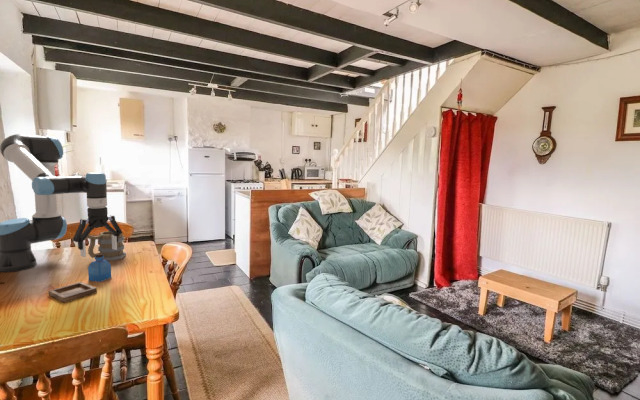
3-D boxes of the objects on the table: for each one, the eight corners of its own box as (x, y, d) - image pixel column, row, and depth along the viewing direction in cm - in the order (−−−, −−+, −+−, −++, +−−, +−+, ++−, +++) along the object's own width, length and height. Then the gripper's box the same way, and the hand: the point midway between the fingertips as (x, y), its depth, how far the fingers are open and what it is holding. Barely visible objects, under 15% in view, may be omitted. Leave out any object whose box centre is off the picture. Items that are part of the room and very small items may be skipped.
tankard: (118, 252, 193) (118, 227, 191) (129, 257, 186) (128, 231, 184) (78, 260, 177) (77, 232, 175) (88, 265, 170) (86, 237, 168)
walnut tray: (48, 295, 135) (48, 290, 134) (81, 285, 145) (81, 281, 145) (64, 302, 129) (63, 298, 129) (96, 292, 140) (96, 287, 139)
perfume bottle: (100, 282, 150) (99, 256, 149) (88, 280, 152) (87, 255, 150) (111, 277, 157) (110, 252, 155) (100, 275, 158) (99, 251, 156)
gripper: (70, 211, 137) (73, 261, 140) (129, 204, 159) (131, 247, 161) (61, 209, 140) (64, 257, 143) (120, 203, 162) (121, 245, 165)
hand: (99, 252), depth 152 cm, fingers open, 13 cm apart
